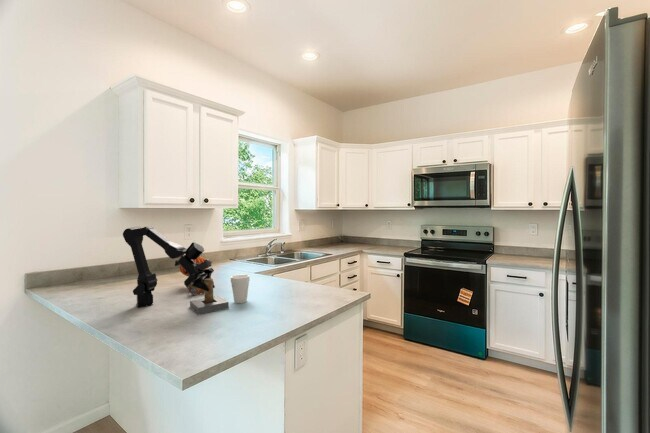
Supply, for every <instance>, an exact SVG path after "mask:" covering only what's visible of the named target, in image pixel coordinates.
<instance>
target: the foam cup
mask: <svg viewBox="0 0 650 433" xmlns="http://www.w3.org/2000/svg"><path fill="white" fill-rule="evenodd" d="M230 283H231V290H232V294H233V295H232V296H233V301H234V302H233V303H236V304H245V303H246V302H247V301H248V293H249V292H248V291H249V285H250V284H249V283H250V275H249V274H244V273H243V274H234V275H231V276H230Z"/></svg>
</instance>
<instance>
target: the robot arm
mask: <svg viewBox="0 0 650 433" xmlns="http://www.w3.org/2000/svg"><path fill="white" fill-rule="evenodd" d="M122 236H123V239H124V241H125V243H126V244H127V245H128V246H130V247H129V248H130V249H131V252H132V256H133V260H134V263H135V266H136V270H137V273H138V277H137V279H136V287H134V289H133V290H132V293H133V295H134V296H136V304H135V305H136V307H137V308H143V307H144V308H145V307H148V306H149V307H150V306H153V305H154V294H152V293H153V291H155V288H156V287H157V285H158V280H159V279H158V278H157V274H156V273H155V272H154V273H152V272H151V270H150V268H149V263H148V261H147V257H146V254H145V250H144V247H143V241H144V236H146V237H147V238H149V239H150V240H151V241H153V242H154V243H155V244H156V245H158V246H159V247H161V248H162V249H163V250H164V252H165V254H166V256H168V257H169V258H170V259H172V260H173V259H177V260H175V261H174V262H175V263H174V266H175V267H178V266H180V265H181V266H182V268H183V269H184V270H185V271H186V272H185V274H189V275H190V276H187V278H185V280H184V281H183V284H184V286H185V288H188V286H190V285H191V282H192V283H193V284H192V286H194V287H197V288H200V289H203V290H205V291H209V288H208V287H207V285H206V284H205V283H204V279H209V278H212V277H211V276H212V274H213V273H214V272H215V269H214V268H212V266H213V265H212V262H213V261H211V259H209V258H205V259H206V260H204V262H202V263H200V264H199V263H195V262H194V261H193V259H194V260H196V259H197V258H198V257H199V256H200V257H201V255H202V254H203V253H204V252H205V248H204V247H203V246H202V245H200V244H199V243H196V242H195V241H193V242H191V243H190V245H189V246H188V247H186V248H185V247H184V246H182V245H180V244H179V243H176V242H174V241H171V240H170V239H168V238H167V237H165V236H164V235H163V234H161V233H160V232H159V231H158V230H156V229H155V228H154V226H153V227H152V226H144V227H140V228H139V227H130V228H126V229H124V230H123V232H122ZM178 258H179V259H178ZM207 267H209V268H207ZM205 268H207V269H205ZM203 271H204V272H203ZM214 284H215V283H214ZM214 284H213V289H215V288H216V286H215V285H214Z"/></svg>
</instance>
